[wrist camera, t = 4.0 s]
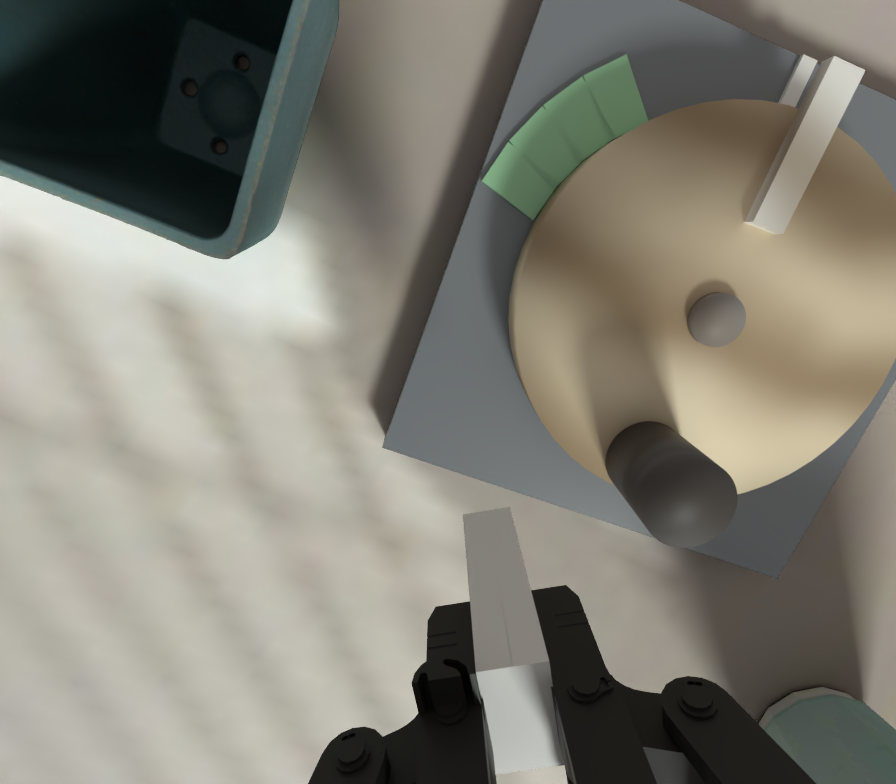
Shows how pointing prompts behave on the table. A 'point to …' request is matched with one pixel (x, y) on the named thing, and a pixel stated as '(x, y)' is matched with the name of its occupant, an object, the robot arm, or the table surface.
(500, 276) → the tuner base
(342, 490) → the table surface
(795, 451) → the dial
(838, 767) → the disposable coffee cup
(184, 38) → the flower pot
